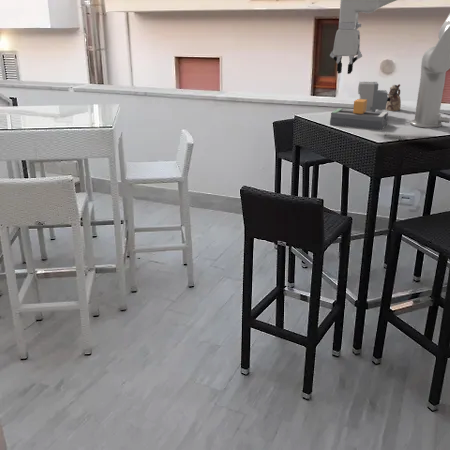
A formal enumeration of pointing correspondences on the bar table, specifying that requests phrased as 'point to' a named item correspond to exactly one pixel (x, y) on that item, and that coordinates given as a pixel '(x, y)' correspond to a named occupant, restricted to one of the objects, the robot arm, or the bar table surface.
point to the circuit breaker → (373, 96)
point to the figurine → (394, 99)
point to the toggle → (360, 106)
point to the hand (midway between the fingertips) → (344, 72)
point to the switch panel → (358, 123)
